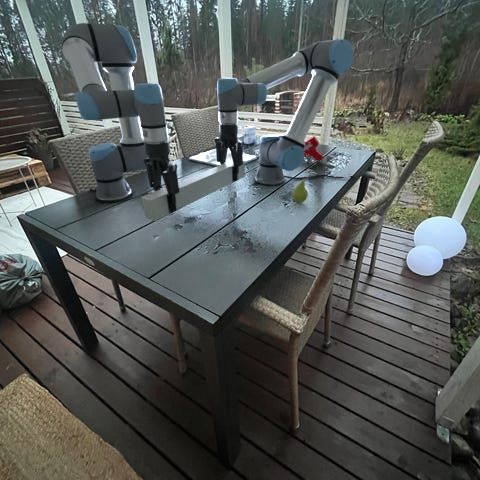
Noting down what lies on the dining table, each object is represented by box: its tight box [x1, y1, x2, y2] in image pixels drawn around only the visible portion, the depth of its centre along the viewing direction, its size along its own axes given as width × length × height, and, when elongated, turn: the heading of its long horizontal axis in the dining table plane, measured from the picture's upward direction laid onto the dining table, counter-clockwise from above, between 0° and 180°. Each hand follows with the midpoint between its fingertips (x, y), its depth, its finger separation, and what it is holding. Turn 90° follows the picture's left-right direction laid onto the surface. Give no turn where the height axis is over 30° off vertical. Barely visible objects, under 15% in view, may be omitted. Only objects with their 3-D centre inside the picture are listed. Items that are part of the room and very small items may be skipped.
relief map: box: [188, 148, 258, 167], centre depth 177 cm, size 27×35×5 cm
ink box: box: [243, 125, 257, 145], centre depth 212 cm, size 8×5×12 cm, turn 135°
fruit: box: [291, 174, 311, 204], centre depth 118 cm, size 7×8×12 cm
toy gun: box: [303, 135, 324, 163], centre depth 171 cm, size 18×4×15 cm
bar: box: [140, 160, 246, 222], centre depth 106 cm, size 51×5×8 cm, turn 143°
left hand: (167, 209), depth 96 cm, fingers closed on bar, 5 cm apart
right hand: (230, 179), depth 120 cm, fingers closed on bar, 5 cm apart
